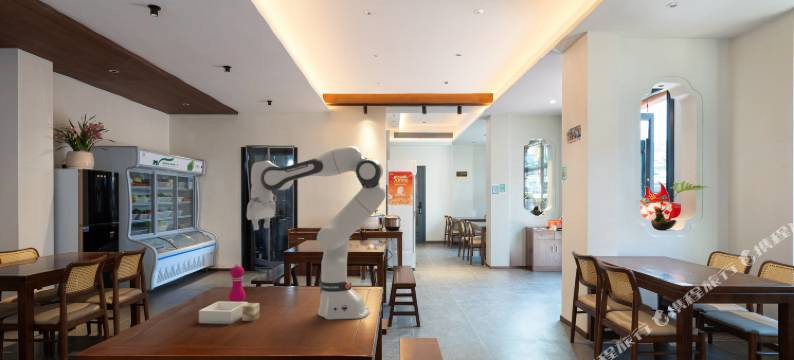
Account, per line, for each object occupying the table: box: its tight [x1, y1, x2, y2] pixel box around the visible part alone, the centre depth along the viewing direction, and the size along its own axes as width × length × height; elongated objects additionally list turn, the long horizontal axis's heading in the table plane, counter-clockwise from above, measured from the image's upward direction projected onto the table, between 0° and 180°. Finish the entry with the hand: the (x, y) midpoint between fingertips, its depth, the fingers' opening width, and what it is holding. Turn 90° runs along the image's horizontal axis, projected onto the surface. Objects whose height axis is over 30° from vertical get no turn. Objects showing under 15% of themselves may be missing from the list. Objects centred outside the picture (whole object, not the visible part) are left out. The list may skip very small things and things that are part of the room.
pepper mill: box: [228, 262, 246, 302], centre depth 191 cm, size 7×7×20 cm
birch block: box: [242, 302, 260, 322], centre depth 171 cm, size 5×5×6 cm
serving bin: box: [198, 300, 249, 325], centre depth 173 cm, size 14×14×5 cm
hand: (261, 228), depth 179 cm, fingers open, 8 cm apart
